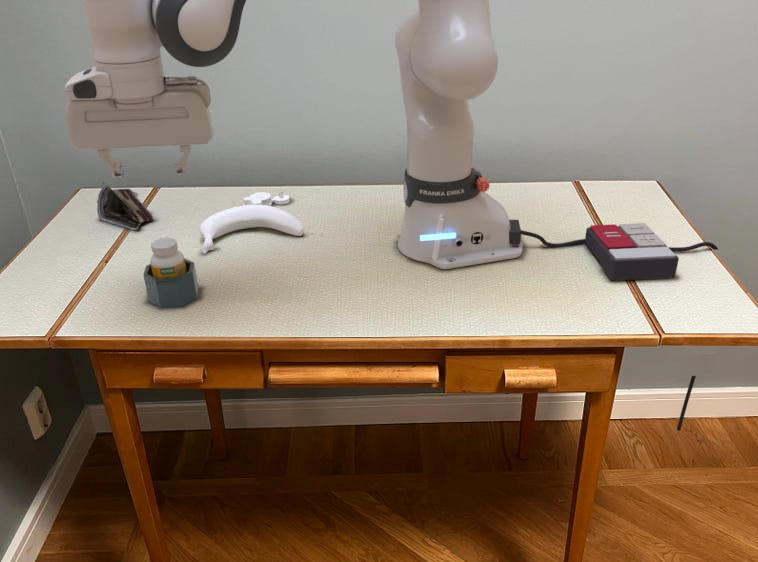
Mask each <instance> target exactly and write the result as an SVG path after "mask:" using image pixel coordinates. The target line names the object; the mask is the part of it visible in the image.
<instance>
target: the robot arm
mask: <svg viewBox="0 0 758 562" xmlns="http://www.w3.org/2000/svg"><path fill="white" fill-rule="evenodd" d="M81 1H82V7H83V13H84V18H85V23H86V26H87V28H88V30H89V32H90V34H91V37H92V41H93V49H94V50H93V59H94V64H95V66H93V67H90V68H87V69H84V70H82V71H79V72H76V74H74V75H72V77H70V78H69V79H68V81H66V84H65V86H64V92H65V96H66V97H67V98H68V99H69V101H68V102H67V104H66V106H65V110H64V111H65V112H64V114H65V125H66V130H67V131H66V132H67V137H68V141H69V144H70V145H71V146H72V147H73V148H74V149H76V150H77V151H87V150H88V151H89V150H92V151H93V150H97V153H98V157H99V158H100V159H101V160H102V161H103V162H104V164H105V165H106V166H107V167H108V168H109V171H110V177H111V178H112V179H113V178H115V179H116V178H123V176H124V173H125V172H124V169H123V163H122V162H120V161H119V162H117V161H116V160H115V159H114V158H113V156H112V155H111V154H110V153H112V149H131V148H151V147H172V146H179V150H180V151H179V152H180V153H183V154H182V156H181V158H180V159H175V162H174V167H175V169H176V170H175V174H176V175H187V174H188V165H187V160H188V158H189V156H190V153H191V151H192V146H194V145H208V144H209V143H210V142H211V141H212V139H213V137H214V124H213V120H212V116H211V112H210V105H211V101H212V97H211V91H210V87H209V85H208V84H207V83H206V82H205V81H204V80H202V79H200V78H198V76H196V75H195V76H194V75H189V76H188V75H187V76H184V77H183V76H165V71H164V65H163V60H162V54H161V53H162V52H161V48H162V47H163V48H164V49H165V51H166V52H167V53H168V54H169V55H170V56H171V57H172V58H174V59H175V60H176V61H178V62H179V63H182V64H183V65H186V66H189V67H193V68H194V67H195V68H205V67H206V68H207V67H210V66H213V65H216V64H218V63H220V62H221V61H223V60H224V59H226V57H228V55H229V54H230V53H231V52H232V50H233V49H234V47H235V44H236V43H237V39H238V36H239V32H240V27H241V20H242V15H243V11H244V8H245V5H246V2H247V0H81ZM491 26H492V25H491V14H490V0H418V9H415V10H412V11H410V12H409V13H408V14H406V16H404V17H403V18H402V19H401V21H400V23H399V25H398V26H397V29H396V31H395V36H394V47H395V51H396V55H397V59H398V65H399V74H400V82H401V91H402V98H403V105H404V111H405V119H406V169H405V170H404V175H403V176H404V178H403V201H404V204H405V206H404V212H403V213H404V215H403V220H402V224H401V231H400V234H399V237H398V240H397V245H396V246H397V249H398V250H399V252H400V253H401V254H402V255H404V256H406V257H407V258H409V259H412V260H414V261H418V262H422V263H426V264H430V265H432V266H434V267H436V268H438V269H441V270H451V269H457V268H462V267H463V268H464V267H468V266H469V267H470V266H475V265H480V264H487V263H492V262H493V263H494V262H499V261H505V260H511V259H516V258H520V257H521V255H522V253H523V240H522V235H523V236H528V237H530V238H534V239H537V240H539V241H540V242H541V243H542V244H543V246H545V247H548V248H552V249H553V248H555V249H556V248H565V247H571V246H574V245H579V244H580V245H582V244H585V242H586V240H585V238H581V239H575V240H571V241H567V242H561V243H552V242H550V241H549V242H548V241H547V240H546V239H545V238H544V237H543V236H541V234H537V233H535V232H532V231H526V230H522V228H521V225H520V221H519V219H510V217H509V214H508V212H507V210H506V208H505V207H504V206H503V205H502V204H501V203H500V201H498V200H496V199H495V198H494V197H492V196H491V195H490V194H488V193H486V192H488V190H489V189H490V186H491V185H490V182H489V180H488V179H487V178H486V177H484V176H483V175H482V173H481V172H480V171H478V170H477V169H476V167H474V166H473V165H472V164H473V149H474V148H473V147H474V132H475V131H474V130H475V128H474V120H473V118H472V115H471V111H470V106H469V101H470V100H473V99H476V98H478V97H479V96H481V95H483V94H484V93H485V92H486V91H487V90H488V89H489V88H490V87H491V85H492V84H493V82H494V80H495V78H496V75H497V72H498V67H499V66H498V65H499V58H498V52H497V50H496V47H495V45H494V41H493V36H492V27H491ZM667 247H668V248H669V249H670V250H671V251H672V252H673V253H676V252H678V253H679V252H688V251H694V250H697V249H699V248H703V247H709V248H711V249H712V250H715V251H718V250H719V247H718V246H717V245H716V244H715V243H713V242H710V241H702V242H698V243H695V244H692V245H689V246H681V247H679V246H678V247H677V246H675V247H673V246H671V247H669V246H667ZM696 378H697V375H691V378H690V381H689V384H688V388H687V390H686V394H685V397H684V401H683V404H682V408H681V411H680V415H679V419H678V423H677V426H676V431H678V432H679V431H681V430H682V426H683V421H684V418H685V414H686V410H687V407H688V403H689V400H690V397H691V393H692V391H693V388H694V383H695V380H696Z"/></svg>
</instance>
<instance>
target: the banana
mask: <svg viewBox="0 0 758 562" xmlns="http://www.w3.org/2000/svg"><path fill="white" fill-rule="evenodd" d="M250 228H252V229H253V228H268V229H272V230H276V231H279V232H282V233H284V234H289V235H290V236H291V235H292V236H295V237H299V236H300V237H301V236H303V235H304V226H303V224H302V223H301V221H300V220H299V219H298V218H297V217H296V216H294V215H293V214H291V213H289V212H288V211H286V210H283V209H280V208H278V207H276V206H273V205H271V206H267V205H244V206H243V205H238V206H234V207H230V208H227V209H223V210H221V211H218V212H216V213H213V214H212V215H210V216H208V217H206V218H205V219H204V220H202V222H201V224H200V226H199V235H200V236H201V237H202V238H203V239H204V242H203V243H202V248H201V251H202V253H203V254H206V253H207V252H209V251H215V248H214V242H213V240H214V239H217V238H220V237H221V236H222V237H223V236H224V235H226V234H229V233H232V232H235V231H239V230H243V229H250Z"/></svg>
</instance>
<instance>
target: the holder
mask: <svg viewBox="0 0 758 562" xmlns="http://www.w3.org/2000/svg"><path fill="white" fill-rule="evenodd" d="M184 259H185V264H186V270H187V273H185V274H183V275H180V276H178V277H176V278H167V279H156V278H154V277H153V272H152V268H151V263H149V264H147V265H146V266H145V269H144V271H143V280H144V284H145V290H146V293H147V299H148V302H149V303H150V304H152V305H154V306H156V307H159V308H160V309H166V308H167V309H169V308H181V307H184V306H185V305H188V304H190V303H193V301H196V300H198V296H199V291H200V287H199V281H198V275H197V270H196V269H197V268H196V264H195V262H194V261H192V260H189V259H187V258H185V257H184Z"/></svg>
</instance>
